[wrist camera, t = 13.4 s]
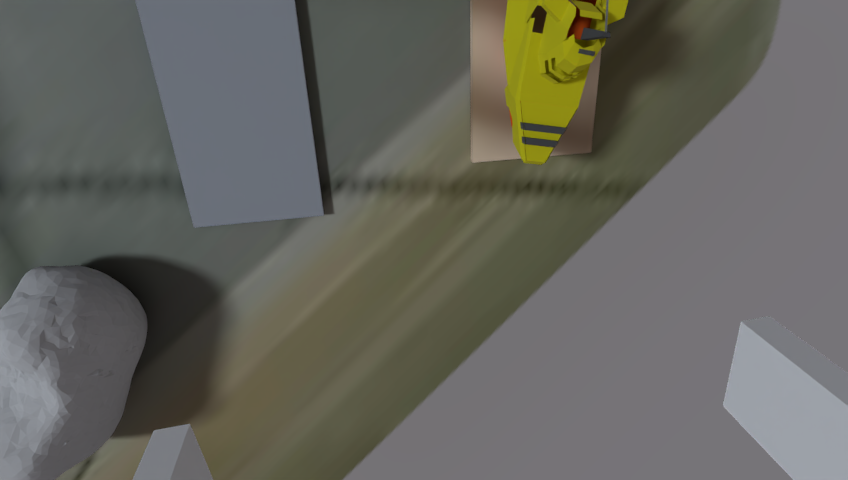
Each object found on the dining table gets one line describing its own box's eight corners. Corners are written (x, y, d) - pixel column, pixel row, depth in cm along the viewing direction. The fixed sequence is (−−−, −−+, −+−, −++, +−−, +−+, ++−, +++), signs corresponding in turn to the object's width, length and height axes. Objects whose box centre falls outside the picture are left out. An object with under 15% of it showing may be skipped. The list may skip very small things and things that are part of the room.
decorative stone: (115, 473, 41) (-31, 553, 31) (40, 397, 43) (-117, 450, 34) (200, 299, 37) (62, 329, 27) (111, 226, 39) (-43, 232, 30)
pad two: (469, -185, 28) (472, -189, 28) (620, -185, 29) (626, -190, 29) (470, 160, 37) (473, 162, 36) (587, 150, 38) (591, 153, 37)
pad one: (109, -115, 27) (104, -117, 27) (279, -117, 28) (277, -120, 28) (196, 224, 36) (193, 228, 35) (324, 212, 37) (323, 215, 36)
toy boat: (628, -150, 29) (750, -218, 20) (553, 150, 37) (619, 197, 28) (525, -174, 28) (606, -257, 19) (468, 140, 36) (508, 185, 27)
